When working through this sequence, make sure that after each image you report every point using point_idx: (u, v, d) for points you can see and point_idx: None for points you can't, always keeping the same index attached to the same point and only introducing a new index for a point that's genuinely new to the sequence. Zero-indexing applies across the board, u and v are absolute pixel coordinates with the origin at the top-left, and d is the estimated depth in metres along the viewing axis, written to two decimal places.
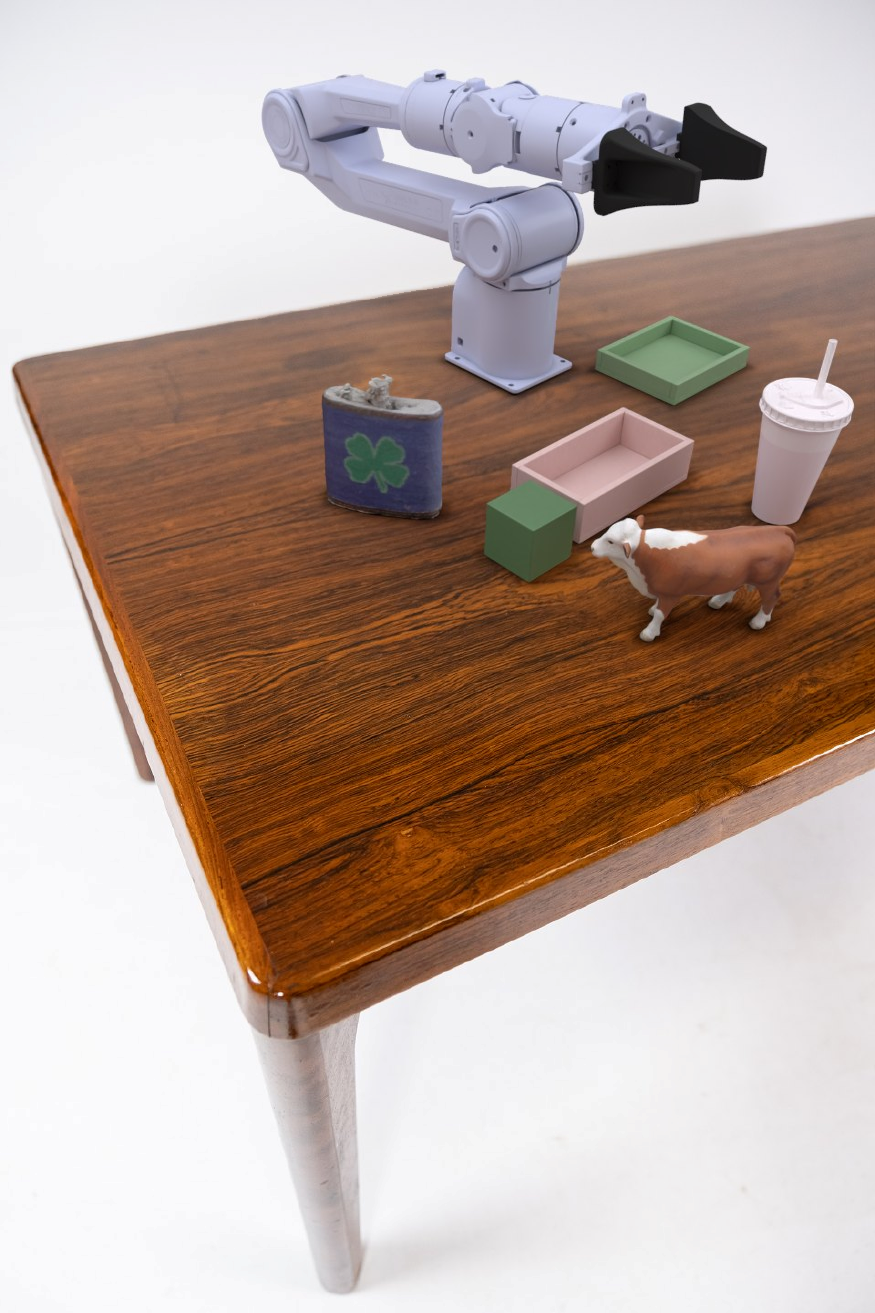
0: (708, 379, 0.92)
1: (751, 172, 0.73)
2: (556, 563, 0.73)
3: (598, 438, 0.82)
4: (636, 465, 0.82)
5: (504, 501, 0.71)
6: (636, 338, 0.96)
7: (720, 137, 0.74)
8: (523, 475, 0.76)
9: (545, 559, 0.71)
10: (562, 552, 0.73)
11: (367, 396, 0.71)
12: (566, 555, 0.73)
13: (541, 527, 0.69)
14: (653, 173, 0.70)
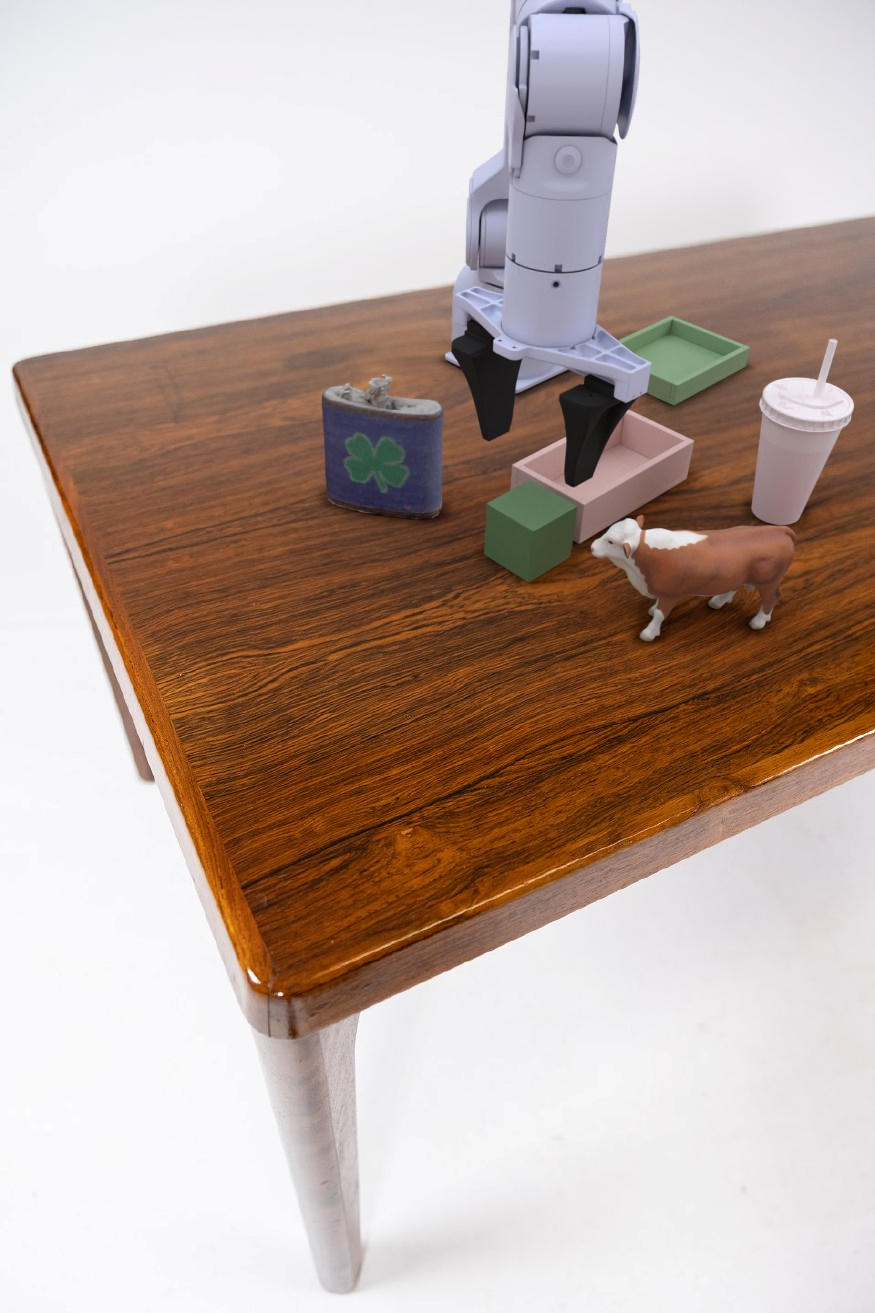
0: (708, 379, 0.92)
1: None
2: (556, 563, 0.73)
3: None
4: (636, 465, 0.82)
5: (504, 501, 0.71)
6: (636, 338, 0.96)
7: None
8: (523, 475, 0.76)
9: (545, 559, 0.71)
10: (562, 552, 0.73)
11: (367, 396, 0.71)
12: (566, 555, 0.73)
13: (541, 527, 0.69)
14: None
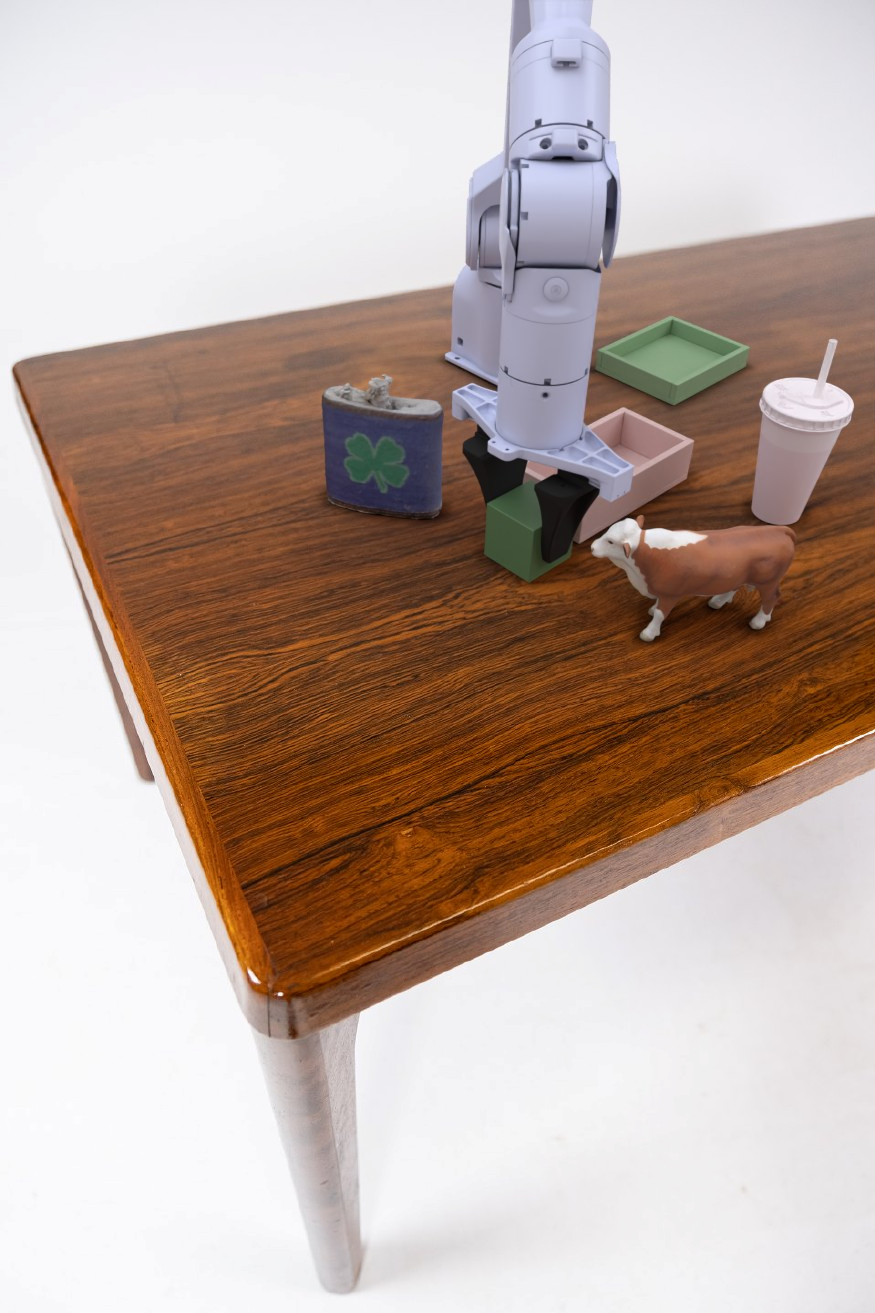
0: (708, 379, 0.92)
1: None
2: (556, 563, 0.73)
3: None
4: (636, 465, 0.82)
5: (504, 501, 0.71)
6: (636, 338, 0.96)
7: None
8: None
9: None
10: None
11: (367, 396, 0.71)
12: (567, 555, 0.73)
13: (541, 528, 0.69)
14: None
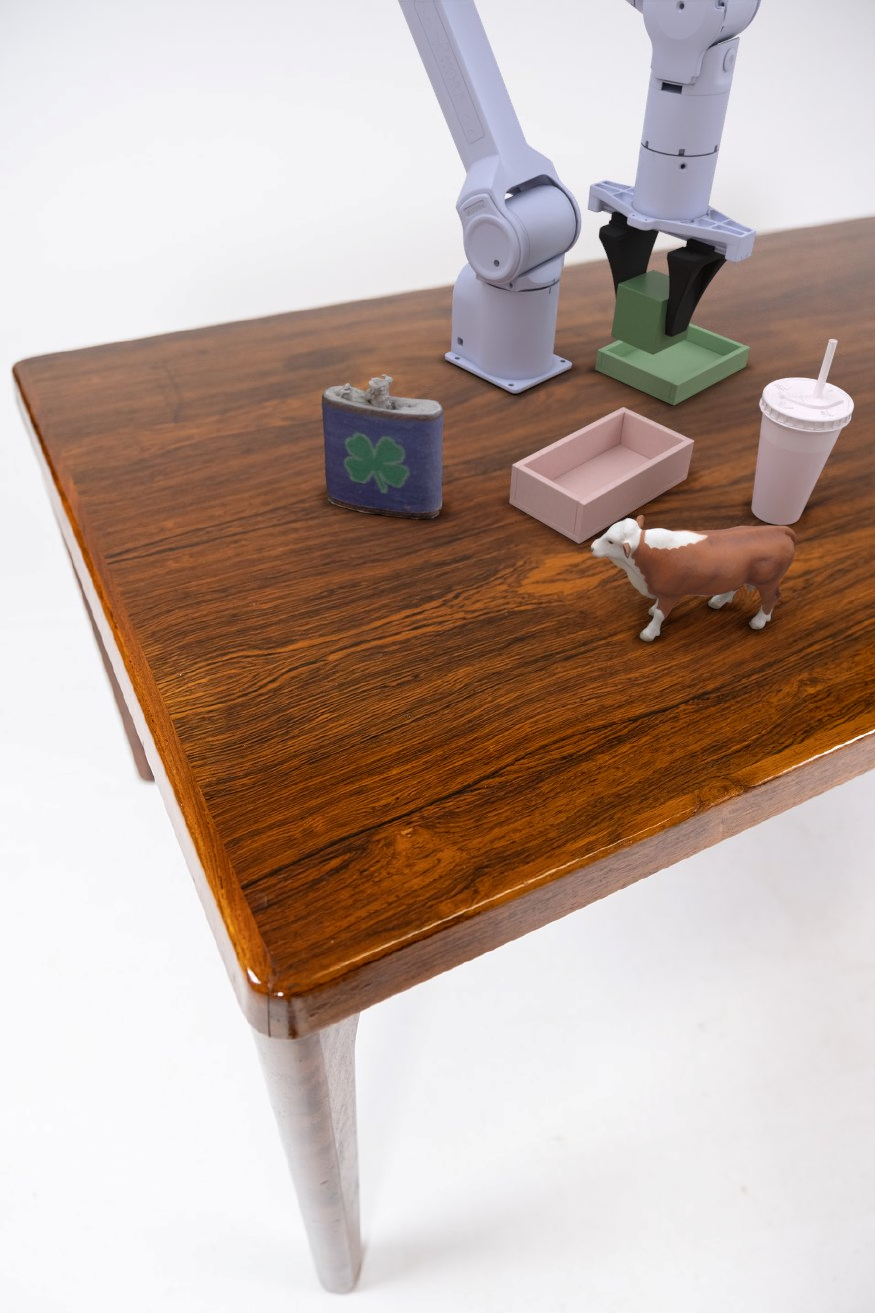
0: (708, 379, 0.92)
1: None
2: (675, 341, 0.84)
3: (598, 438, 0.82)
4: (636, 465, 0.82)
5: (633, 282, 0.82)
6: None
7: None
8: (523, 475, 0.76)
9: None
10: None
11: (367, 396, 0.71)
12: (684, 336, 0.84)
13: None
14: None
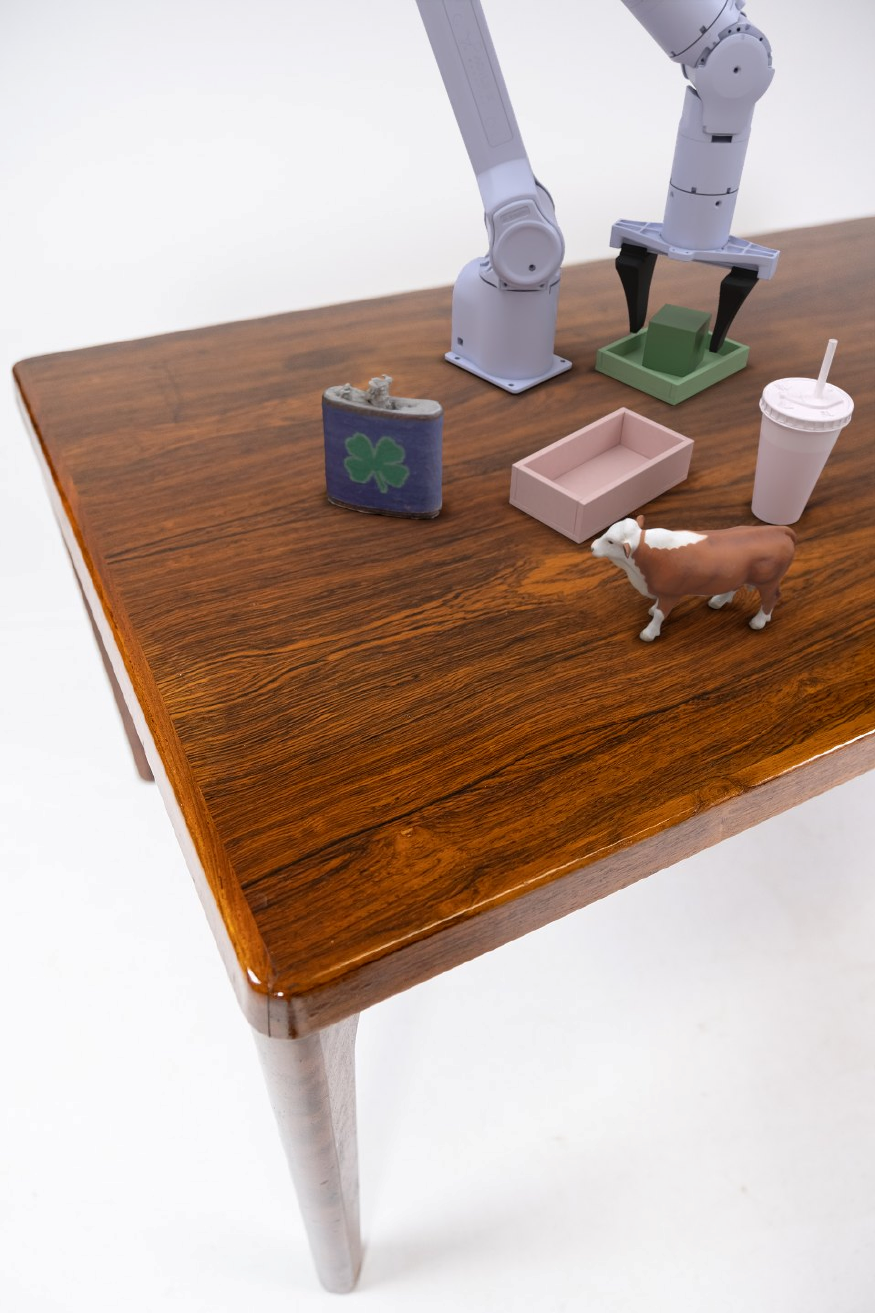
0: (708, 379, 0.92)
1: None
2: (698, 363, 0.95)
3: (598, 438, 0.82)
4: (636, 465, 0.82)
5: (660, 318, 0.92)
6: (636, 338, 0.96)
7: None
8: (523, 475, 0.76)
9: (695, 358, 0.93)
10: (701, 354, 0.95)
11: (367, 396, 0.71)
12: (702, 357, 0.95)
13: (699, 329, 0.91)
14: None
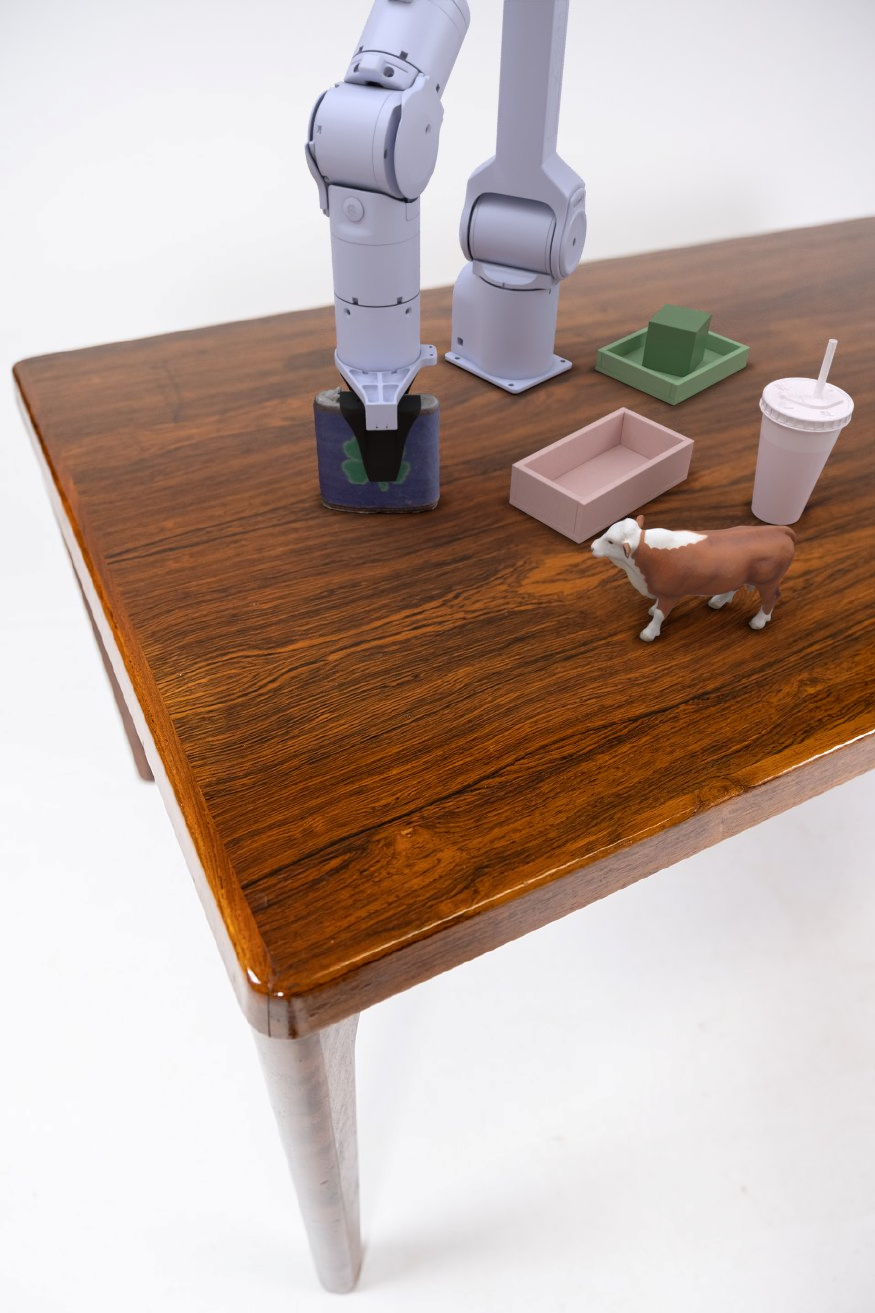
0: (708, 379, 0.92)
1: None
2: (698, 363, 0.95)
3: (598, 438, 0.82)
4: (636, 465, 0.82)
5: (660, 318, 0.92)
6: (636, 338, 0.96)
7: None
8: (523, 475, 0.76)
9: (695, 358, 0.93)
10: (701, 354, 0.95)
11: None
12: (702, 357, 0.95)
13: (699, 329, 0.91)
14: (387, 442, 0.72)
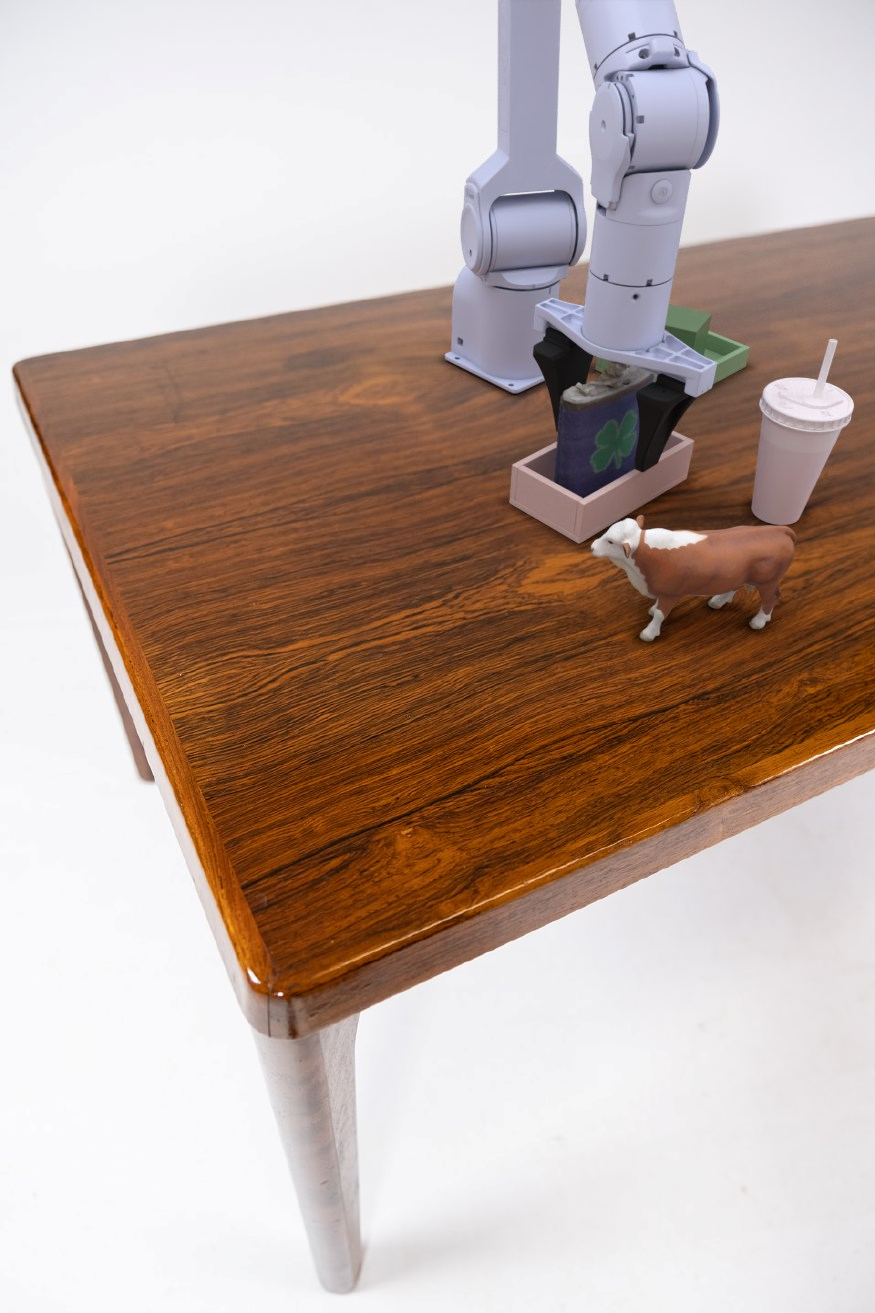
0: None
1: None
2: None
3: None
4: None
5: None
6: None
7: (582, 380, 0.77)
8: (523, 475, 0.76)
9: None
10: (701, 354, 0.95)
11: (614, 381, 0.73)
12: None
13: (699, 329, 0.91)
14: (662, 426, 0.73)
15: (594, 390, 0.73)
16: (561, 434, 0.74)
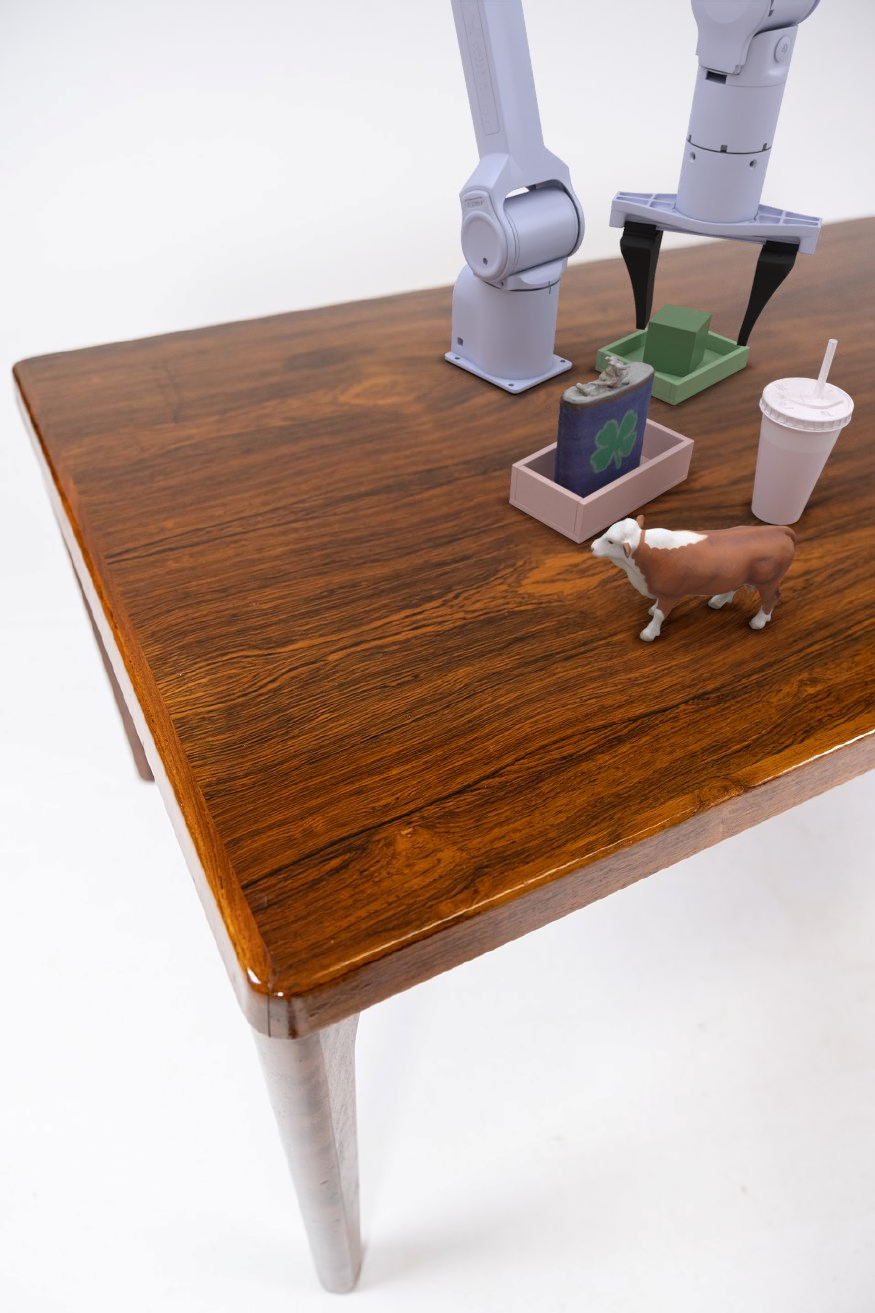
0: (708, 379, 0.92)
1: (646, 321, 0.78)
2: (698, 363, 0.95)
3: None
4: None
5: (660, 318, 0.92)
6: (636, 338, 0.96)
7: (654, 272, 0.77)
8: (523, 475, 0.76)
9: (695, 358, 0.93)
10: (701, 354, 0.95)
11: (614, 381, 0.73)
12: (702, 357, 0.95)
13: (699, 329, 0.91)
14: None
15: (594, 390, 0.73)
16: (561, 434, 0.74)
